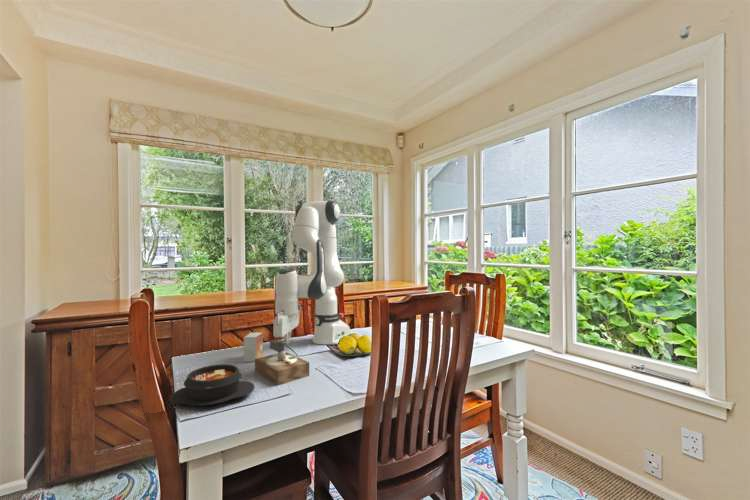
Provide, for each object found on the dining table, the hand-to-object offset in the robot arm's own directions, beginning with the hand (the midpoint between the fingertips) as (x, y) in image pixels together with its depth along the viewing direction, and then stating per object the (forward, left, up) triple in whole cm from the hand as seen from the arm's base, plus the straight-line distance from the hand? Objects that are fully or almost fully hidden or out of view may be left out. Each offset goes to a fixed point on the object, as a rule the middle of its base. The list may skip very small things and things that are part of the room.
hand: (286, 342), depth 140 cm
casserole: (+31, +9, -10) cm, 34 cm away
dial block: (+5, +6, -10) cm, 12 cm away
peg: (+5, +5, -4) cm, 9 cm away
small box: (+5, -18, -10) cm, 22 cm away
